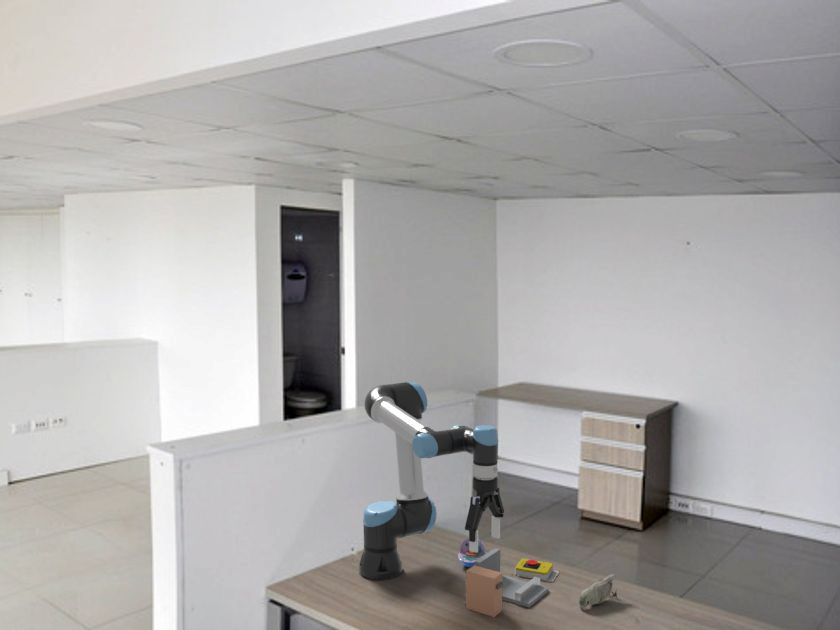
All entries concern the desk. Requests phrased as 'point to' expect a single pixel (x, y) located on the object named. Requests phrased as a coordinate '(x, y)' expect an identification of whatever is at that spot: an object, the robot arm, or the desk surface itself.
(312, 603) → the desk surface
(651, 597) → the desk surface
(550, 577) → the emergency button
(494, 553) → the gray bracket stand
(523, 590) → the strip
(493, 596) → the cabinet block
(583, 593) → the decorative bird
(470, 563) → the cell model
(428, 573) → the desk surface
